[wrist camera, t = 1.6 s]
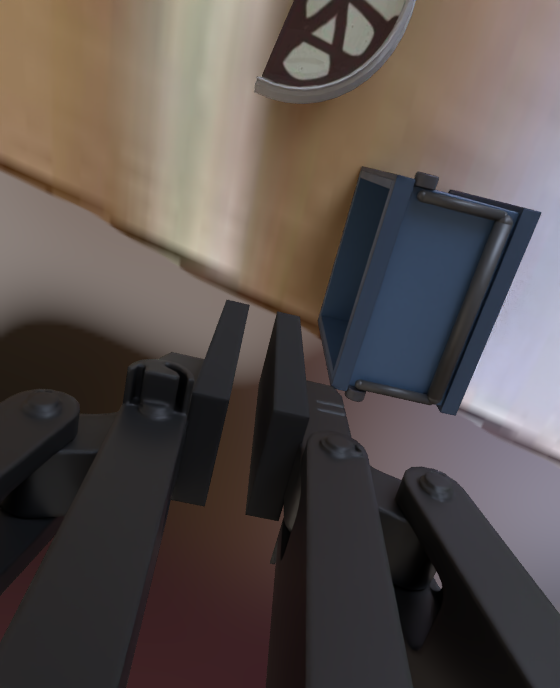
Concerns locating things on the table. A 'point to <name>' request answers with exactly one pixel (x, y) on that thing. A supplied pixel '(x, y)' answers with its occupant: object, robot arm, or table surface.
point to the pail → (418, 287)
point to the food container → (332, 47)
